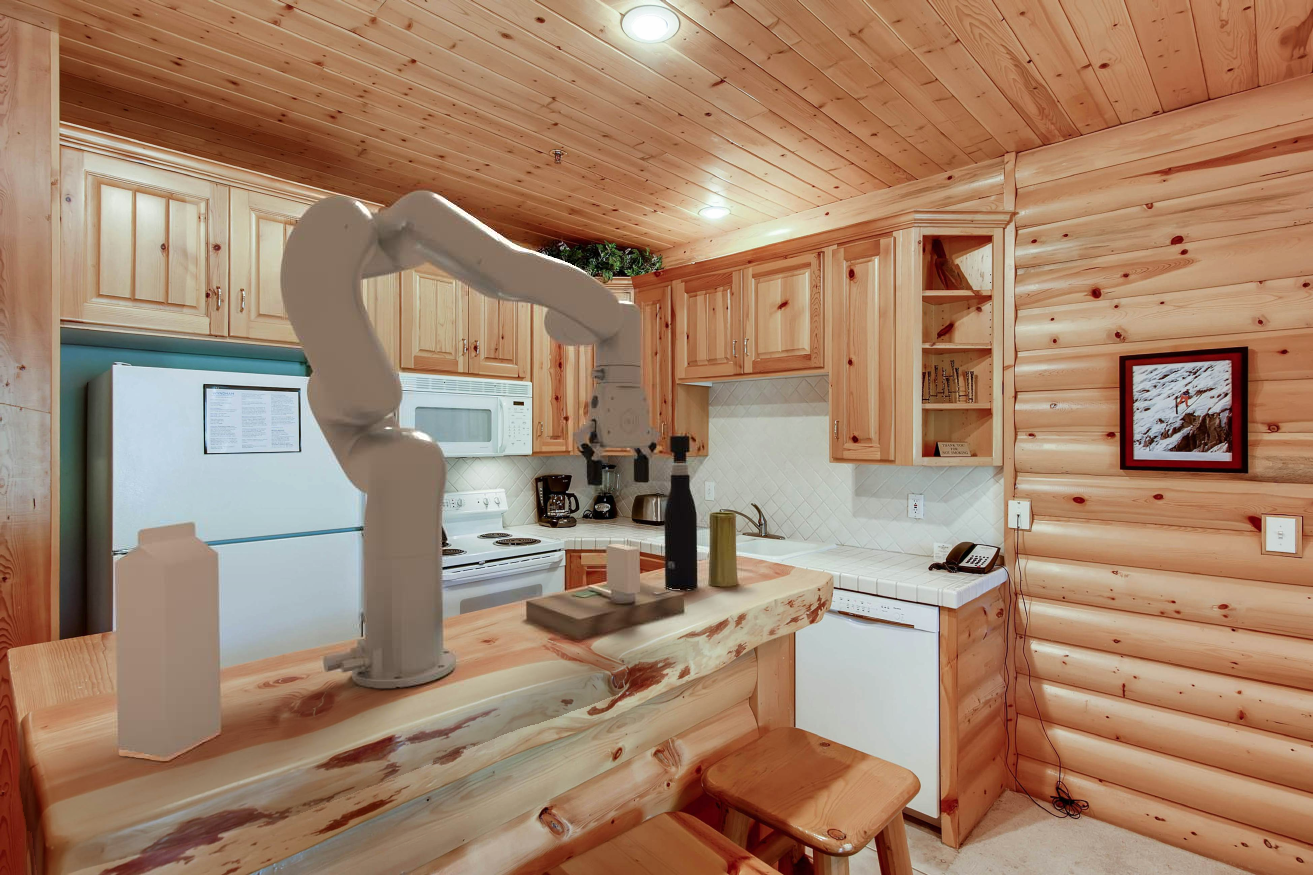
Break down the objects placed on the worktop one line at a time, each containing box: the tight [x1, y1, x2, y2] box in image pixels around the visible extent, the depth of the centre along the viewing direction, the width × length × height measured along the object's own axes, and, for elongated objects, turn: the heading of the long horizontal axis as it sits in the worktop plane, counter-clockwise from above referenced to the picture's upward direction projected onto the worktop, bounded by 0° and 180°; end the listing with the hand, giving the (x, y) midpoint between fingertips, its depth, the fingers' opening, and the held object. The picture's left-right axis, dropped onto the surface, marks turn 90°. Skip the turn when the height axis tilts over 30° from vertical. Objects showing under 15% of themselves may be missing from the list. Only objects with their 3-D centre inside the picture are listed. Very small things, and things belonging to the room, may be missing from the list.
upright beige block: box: [587, 543, 641, 604], centre depth 110 cm, size 13×4×9 cm, turn 38°
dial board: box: [525, 582, 685, 640], centre depth 111 cm, size 22×15×3 cm
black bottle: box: [663, 435, 698, 591], centre depth 130 cm, size 6×6×30 cm
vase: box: [707, 511, 739, 588], centre depth 132 cm, size 6×6×14 cm
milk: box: [114, 521, 222, 758], centre depth 65 cm, size 6×6×22 cm
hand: (618, 483), depth 107 cm, fingers open, 9 cm apart
